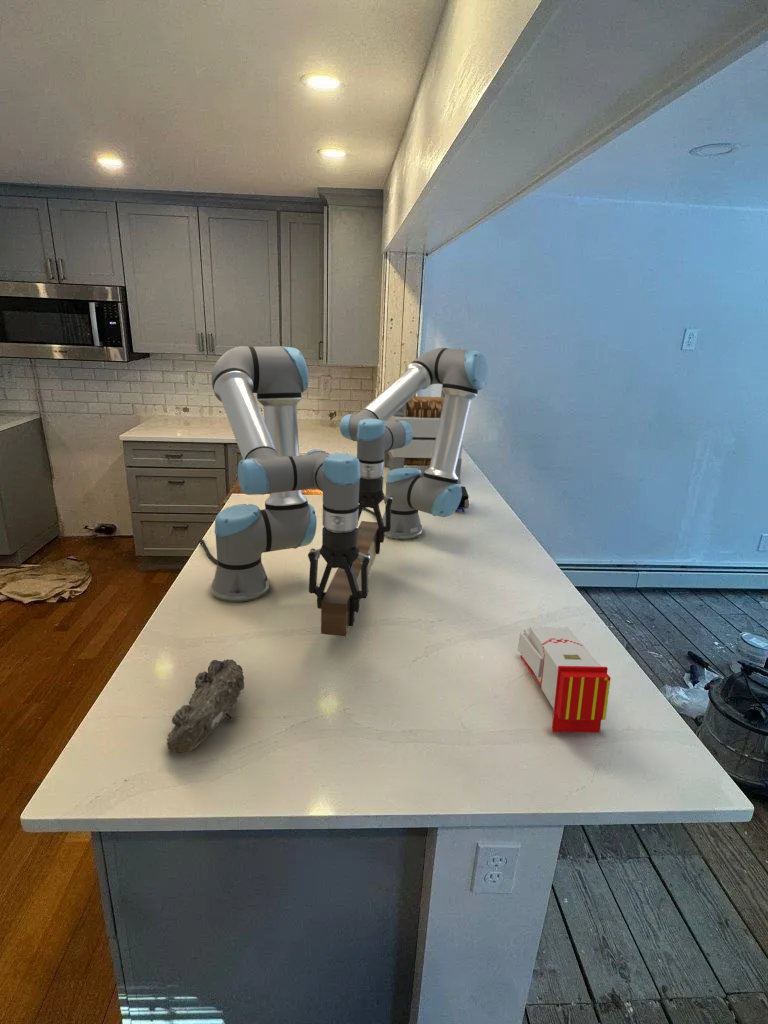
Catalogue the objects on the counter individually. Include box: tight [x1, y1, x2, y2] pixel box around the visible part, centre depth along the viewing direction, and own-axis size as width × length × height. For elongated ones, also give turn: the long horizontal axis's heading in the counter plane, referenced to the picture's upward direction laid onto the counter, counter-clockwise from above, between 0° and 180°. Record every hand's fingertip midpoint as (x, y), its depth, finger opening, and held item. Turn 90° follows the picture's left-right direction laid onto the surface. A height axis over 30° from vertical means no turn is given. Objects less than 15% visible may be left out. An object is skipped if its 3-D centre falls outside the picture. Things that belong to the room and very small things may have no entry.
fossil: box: [166, 658, 245, 754], centre depth 106 cm, size 22×10×15 cm
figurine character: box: [454, 485, 470, 513], centre depth 227 cm, size 7×8×15 cm
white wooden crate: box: [384, 389, 464, 484], centre depth 268 cm, size 34×33×41 cm
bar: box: [320, 520, 379, 638], centre depth 146 cm, size 50×6×8 cm, turn 172°
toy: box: [517, 626, 611, 734], centre depth 119 cm, size 12×13×30 cm
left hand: (337, 621), depth 128 cm, fingers closed on bar, 6 cm apart
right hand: (367, 551), depth 166 cm, fingers closed on bar, 6 cm apart
